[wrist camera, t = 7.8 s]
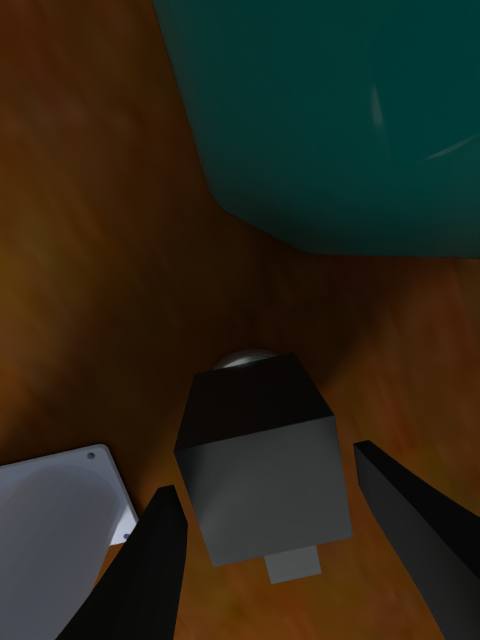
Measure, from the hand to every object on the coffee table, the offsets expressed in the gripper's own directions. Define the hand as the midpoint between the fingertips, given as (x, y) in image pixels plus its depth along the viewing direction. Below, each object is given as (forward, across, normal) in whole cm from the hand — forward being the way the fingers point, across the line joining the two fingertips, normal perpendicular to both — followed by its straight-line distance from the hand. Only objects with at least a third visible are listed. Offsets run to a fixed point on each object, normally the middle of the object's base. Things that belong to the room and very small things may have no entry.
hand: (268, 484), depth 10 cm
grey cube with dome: (+5, 0, 0) cm, 5 cm away
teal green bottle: (+7, -5, -13) cm, 16 cm away
